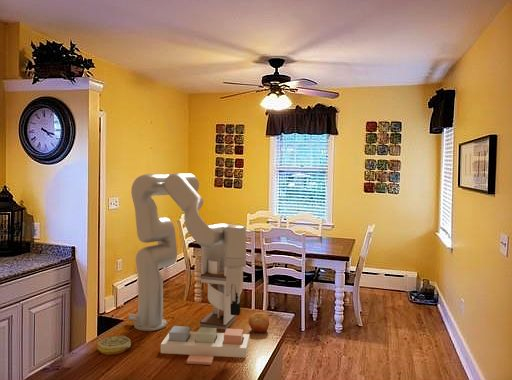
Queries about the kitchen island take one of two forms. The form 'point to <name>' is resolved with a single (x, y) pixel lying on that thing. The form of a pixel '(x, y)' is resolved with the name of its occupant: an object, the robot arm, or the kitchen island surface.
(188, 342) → the keypad board
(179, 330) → the key slate blue
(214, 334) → the key sage
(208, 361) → the tile
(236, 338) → the key terracotta
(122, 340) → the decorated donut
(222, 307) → the tiered shelf stand
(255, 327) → the fruit
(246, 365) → the kitchen island surface
